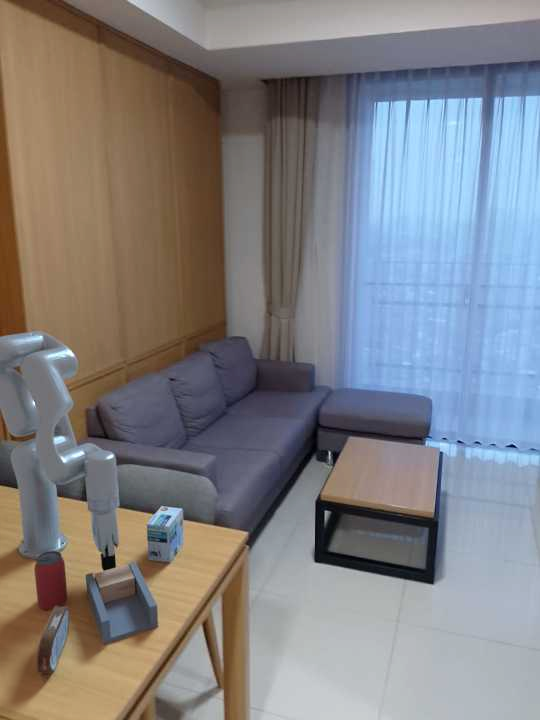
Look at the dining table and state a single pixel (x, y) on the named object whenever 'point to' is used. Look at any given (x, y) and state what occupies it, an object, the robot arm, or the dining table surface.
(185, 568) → the dining table surface
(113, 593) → the brown cardboard box
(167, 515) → the light bulb box
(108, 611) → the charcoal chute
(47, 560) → the beer can
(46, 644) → the tin
